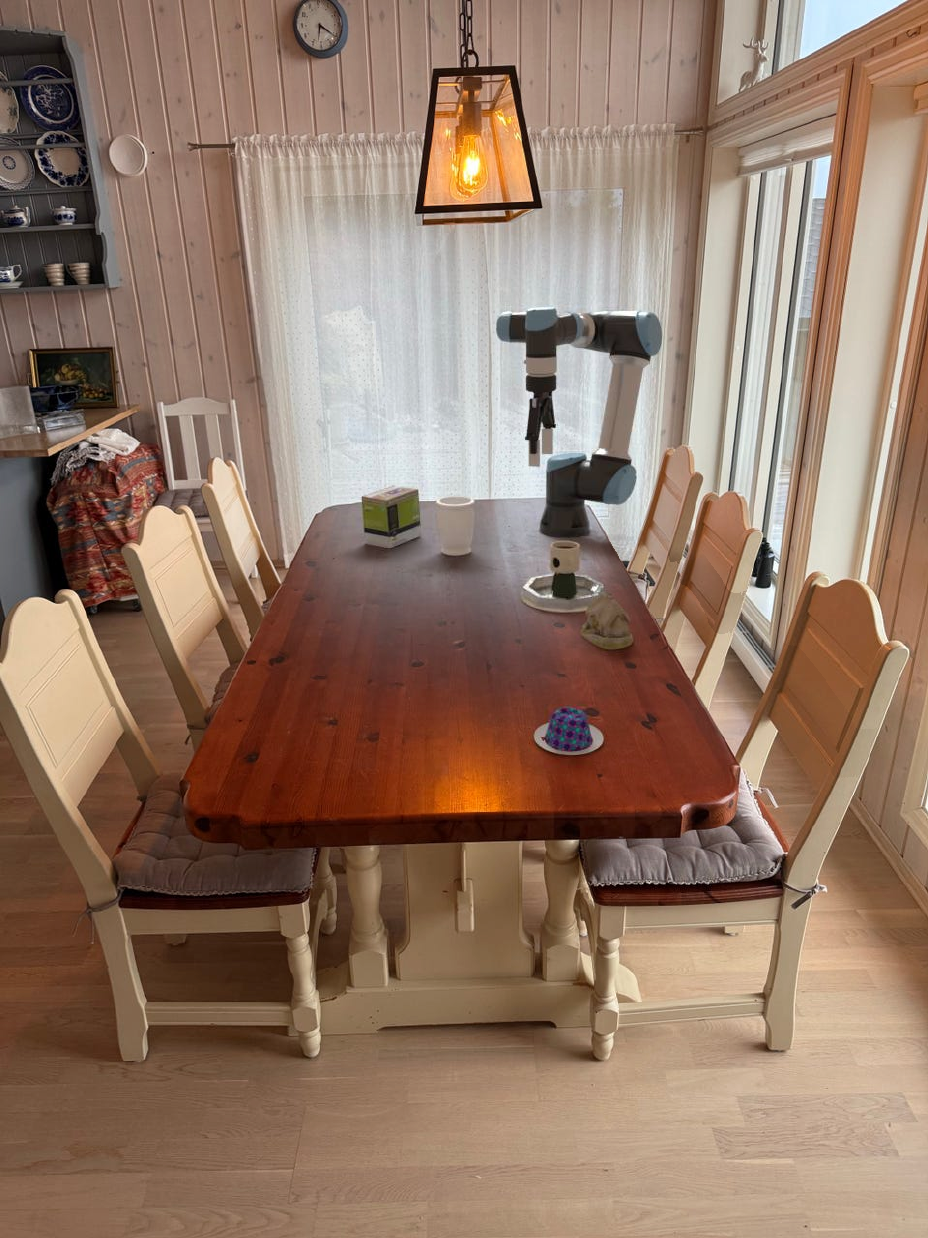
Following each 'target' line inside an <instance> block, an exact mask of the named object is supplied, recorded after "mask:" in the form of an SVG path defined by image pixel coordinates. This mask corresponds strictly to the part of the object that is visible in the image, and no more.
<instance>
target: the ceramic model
mask: <svg viewBox="0 0 928 1238" xmlns="http://www.w3.org/2000/svg"><path fill="white" fill-rule="evenodd" d="M585 614H586V616H587V621H586V622H585V623H583V624H582V626H581V633H580V634H581V636H582V638H584V639H585V640H586V641H588V642H590V643H591V644H593V645H594V646H596V647H598V648H601V649H604V650H619V649H624V648H628V647H629V646H631V645H633V643H634V638H633V635H632V633H631V632H630V631H629V628H628V627H629V626H628V623H630V622H631V618H630V617H629V614H628V613H627V612H626V611H625V610H624V609H623V608H622V607H621V605H620V604H619V602H618V601H616V599H615V598H614V595H613V594H612V593H607V594H606V593H605V594H600V596H599V597H598V598H597V599H595V600H594V601H592V602H591V603H590V605H589V606H588V608H587V609H586V611H585Z"/></svg>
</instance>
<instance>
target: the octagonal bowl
mask: <svg viewBox="0 0 928 1238" xmlns="http://www.w3.org/2000/svg"><path fill="white" fill-rule="evenodd" d="M553 577H554V573H549V574H543V575H538V576H537V575H536V576H531V577H530V579H529V580H528V581H527V582H526V584H524V585H523V587H522V591H521V593H520V600H521V601H522V603H524V604H525V605H526V606H528V607H530V608H532V609H535V610H538V611H542V612H546V613H547V612H548V613H557V614H576V613H584V612H585V613H586V609H587V608H588V606H589V605H590V603H591V602H592V601H594V600H595V599H597V598H598V597H599V596H600V594H606V592H605V584H603V583H601V582H600V581H598V580H596V579H594V578H593V577H591V576H589V575H585V574H575V579H576V589H577V593H576V595H573V596H569V597H566V598H565V597H563V598H561V597H556V596H553V591H552V593H551V588H552V582H553Z"/></svg>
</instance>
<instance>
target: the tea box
mask: <svg viewBox="0 0 928 1238" xmlns="http://www.w3.org/2000/svg"><path fill="white" fill-rule="evenodd" d="M361 507H362V521H363V533H364V542H365V543H364V544H366V545H370V546H375V547H378V548H385V549H391V548H394V547H396V546H399V545H401V544H404V543H407V542H409V541H411V540H414V539H416V538H419V537H421V536H422V527H421V525H422V524H421V511H420V510H421V509H420V507H421V506H420V493H419V489H418V488H412V487H411V488H409V487H404V486H396V485H391V486H388V487H385V488H383V489H379V490H377V491H373V492H372V493H371V492H370V493H368V494H365V495H361Z"/></svg>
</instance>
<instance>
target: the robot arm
mask: <svg viewBox="0 0 928 1238" xmlns="http://www.w3.org/2000/svg"><path fill="white" fill-rule="evenodd" d="M495 325H496V327H495V333H496V335H497V338H498V339H499V340H500V341H502V342H505V343H506V342H507V343H510V344H511V343H514V344H515V343H518V344H521V343H523V344H525V359H524V360H523V364H524V365H525V373H526V374H527V375H526V376H525V390H526V391H527V392H529V393H533V397H532V398H529V400H528V403H529V406H528V407H529V408H528V418H527V426H526V435H525V437H524V440H525V441H528V467H531V468H533V467H534V468H535V467H536V468H540V467H541V454H542V455H553V453H554V452H553V443H554V440H553V436H554V434H553V433H554V429H556V428H557V423H556V420H555V419H556V418H555V412H554V404H553V402H554V401H553V392H554V391H556V390H557V375H556V373H557V372H558V371H557V370H558V369H557V368H558V366H557V363H558V361H557V359H558V357H557V352H558V351H557V348H558V347H559V346H562V345H570V346H571V347H573V348H576V349H584V350H588V351H593V352H599V353H606V354H608V359H609V360H610V362H611V363H612V369H611V375H610V381H609V386H608V391H607V397H606V402H605V408H604V414H603V420H602V425H601V429H600V430H601V431H600V436H599V443H598V448H597V449H596V450H594V451H593V452H592V453H591V458H590V460H589V459H588V457H587V455H586V453H584V452H569V453H561V454H560V453H559V454H556V455H553V456H551V457H549V458H548V459H547V461H546V469H545V479H546V480H545V483H546V484H545V506H544V510H543V513H542V516H541V519H540V521H539V531H540V532H541V533H542V534H545V535H547V536H552V537H560V538H563V537H564V538H572V537H578V536H579V537H580V536H584V535H587V534H588V533H589V532H590V520H589V516H588V513H587V510H586V507H585V506H586V505H585V503H586V502H585V501H587V502H588V501H589V502H595V503H600V504H605V505H617V506H618V505H622V504H624V503H626V502H627V501H628V499H629V498H630V497H631V496H632V494H633V492H634V489H635V487H636V484H637V479H638V477H637V469H636V467H635V466H633V465H632V460H633V459H632V458H631V456H630V455H629V448H630V447H629V446H630V443H631V442H630V441H631V438H632V437H631V436H632V433H633V426H634V422H635V420H634V419H635V415H636V410H637V404H638V400H639V399H638V398H639V394H640V388H641V383H642V378H643V377H642V376H643V371H644V368H646V367H647V366H648V365H650V362H651V358H652V357H654V356H656V355H658V353H660V351H661V347H662V344H663V331H662V325H661V321H660V320H659V318H658V315H656V314H655V313H654V312H651V311H643V310H600V311H591V312H575V311H563V312H558V311H557V309H556V308H555V307H553V306H542V307H541V306H540V307H530V308H528V309H527V310H526V311H513V310H511V311H503V312H502V313H500V314H499V316H498V317H497V320H496V323H495ZM557 346H558V347H557ZM541 427H542V428H541ZM540 432H541V439H540Z"/></svg>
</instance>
